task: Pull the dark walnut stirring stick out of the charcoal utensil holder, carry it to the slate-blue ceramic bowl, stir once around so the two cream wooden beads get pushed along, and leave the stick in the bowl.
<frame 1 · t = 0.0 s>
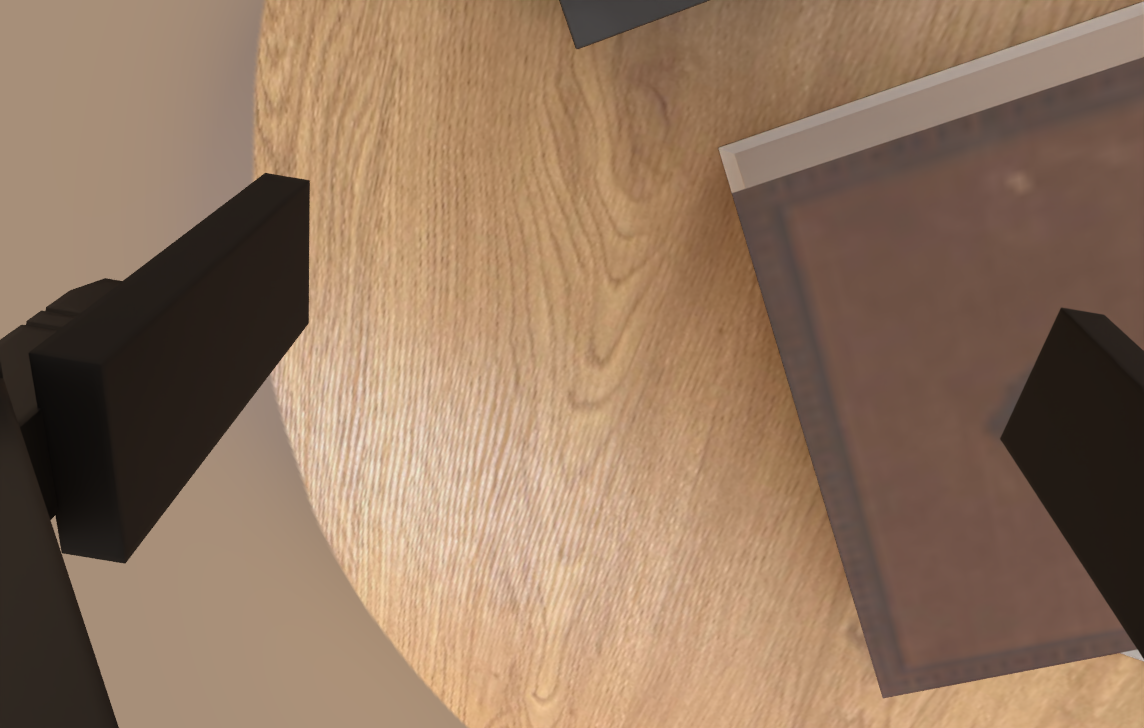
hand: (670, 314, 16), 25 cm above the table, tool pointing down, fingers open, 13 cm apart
book: (1048, 336, 42), on the table
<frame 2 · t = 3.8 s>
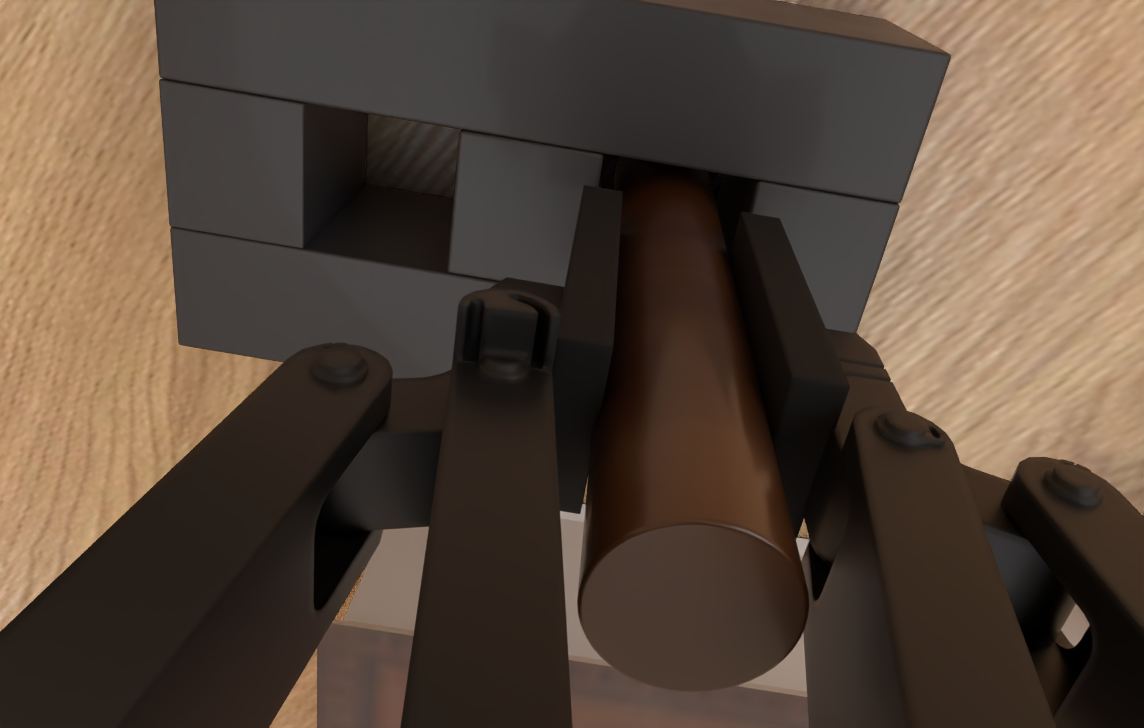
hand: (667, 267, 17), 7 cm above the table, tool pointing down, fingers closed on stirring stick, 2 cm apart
stirring stick: (660, 173, 23), resting in holder, touching gripper
holder: (544, 154, 23), on the table
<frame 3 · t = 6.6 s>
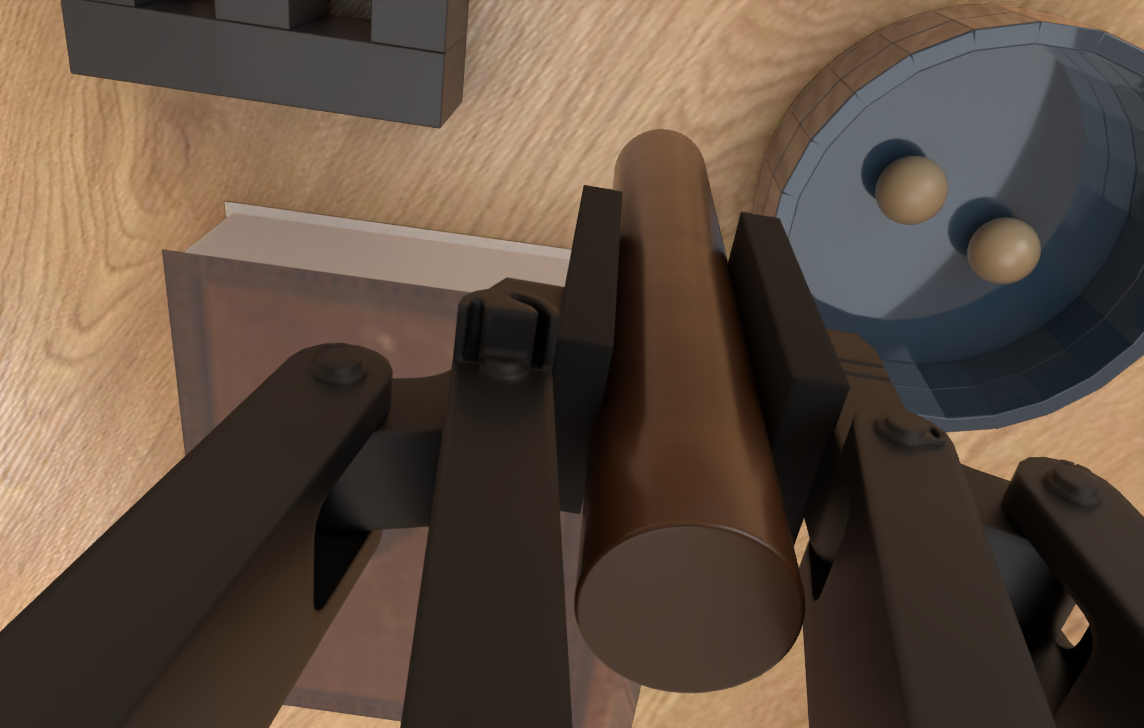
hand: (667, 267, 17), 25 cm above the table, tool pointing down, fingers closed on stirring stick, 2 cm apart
bead b: (1003, 251, 40), point 2 cm above the table, touching bowl
bead a: (911, 190, 39), point 2 cm above the table, touching bowl
stirring stick: (659, 174, 23), point 18 cm above the table, touching gripper
bowl: (942, 204, 41), on the table
book: (453, 462, 51), on the table
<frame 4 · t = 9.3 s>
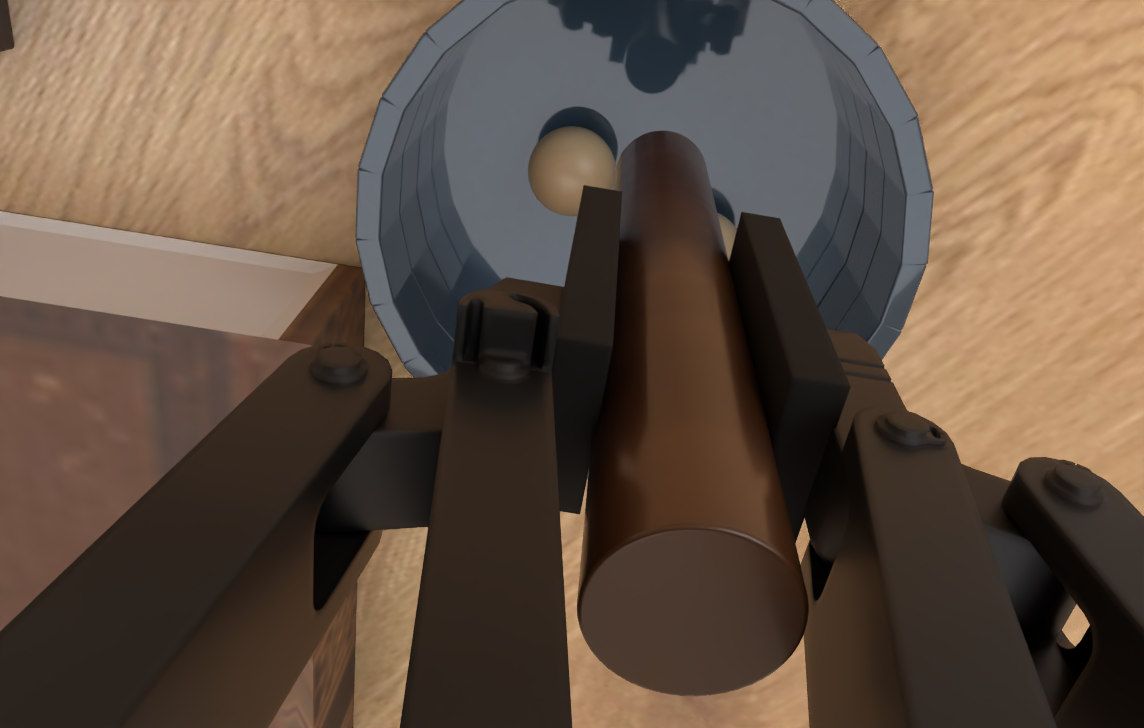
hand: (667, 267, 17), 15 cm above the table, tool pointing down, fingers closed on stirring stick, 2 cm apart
bead b: (699, 252, 31), point 2 cm above the table, touching bowl
bead a: (571, 171, 30), point 2 cm above the table, touching bowl
stirring stick: (660, 175, 23), point 9 cm above the table, touching gripper
bowl: (637, 192, 33), on the table
book: (103, 498, 42), on the table
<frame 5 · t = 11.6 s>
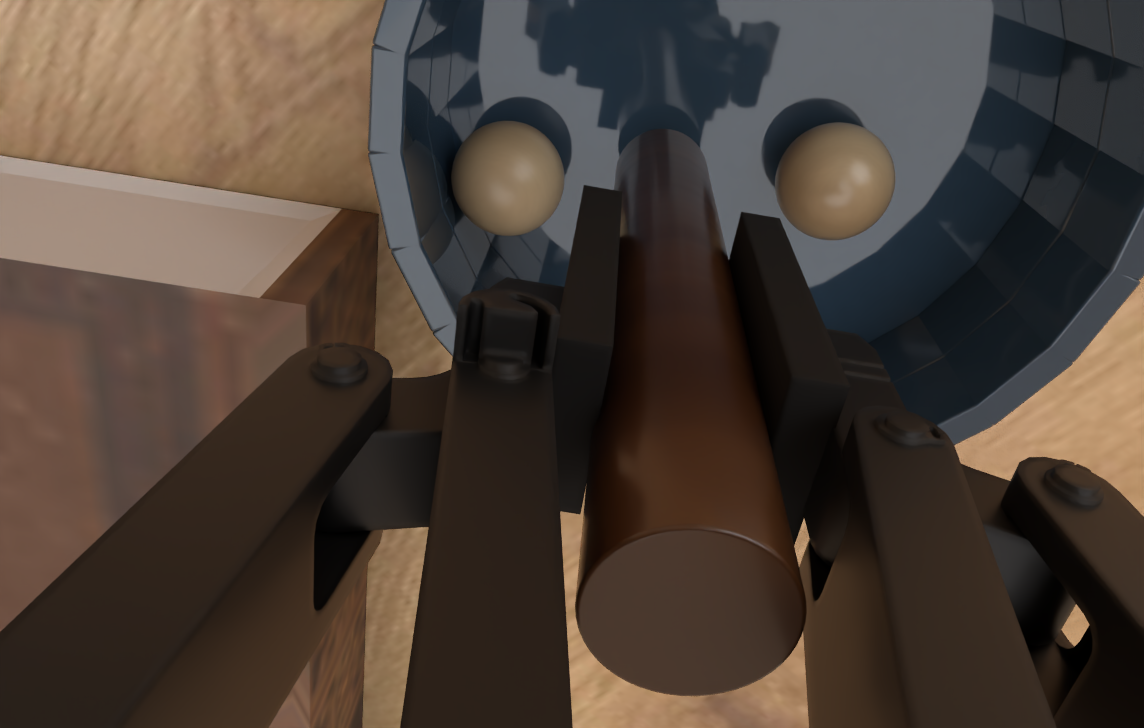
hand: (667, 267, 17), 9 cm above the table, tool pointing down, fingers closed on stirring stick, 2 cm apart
bead b: (834, 182, 23), point 2 cm above the table, touching bowl
bead a: (508, 179, 23), point 2 cm above the table, tilted 172°, touching bowl
stirring stick: (661, 174, 23), point 2 cm above the table, touching gripper
bowl: (742, 106, 24), on the table
book: (50, 512, 33), on the table
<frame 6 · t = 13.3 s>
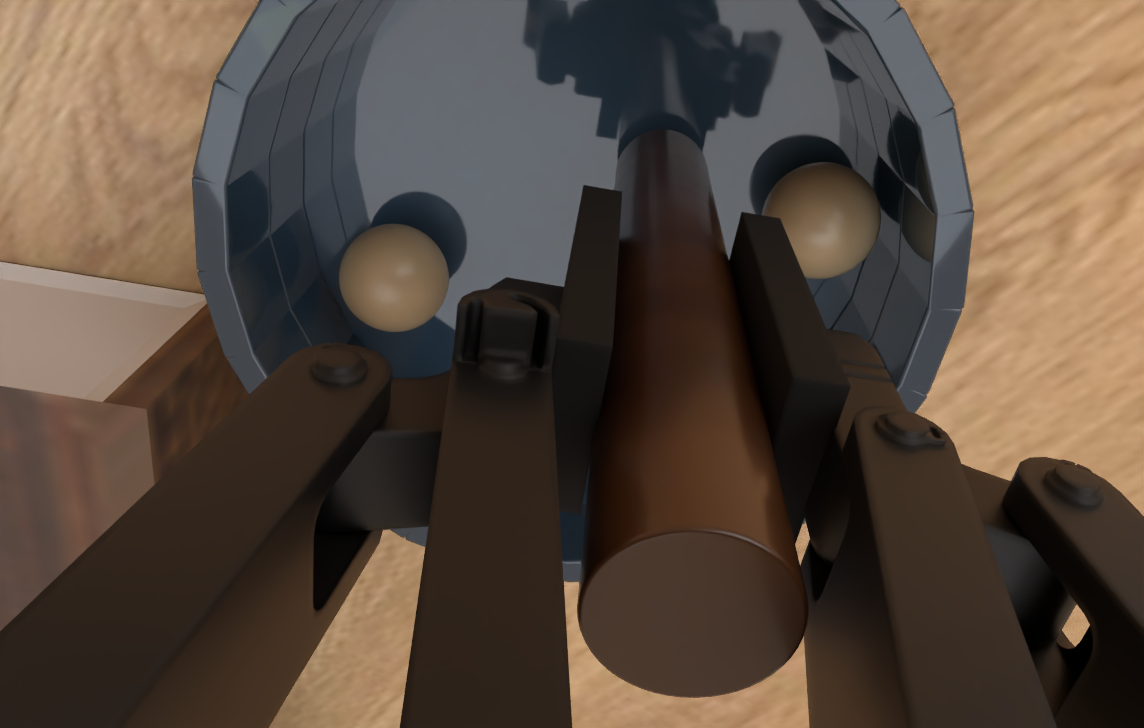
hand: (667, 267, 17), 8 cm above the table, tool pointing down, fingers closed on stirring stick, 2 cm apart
bead b: (820, 221, 23), point 2 cm above the table, tilted 167°, touching bowl
bead a: (394, 278, 25), point 2 cm above the table, tilted 144°, touching bowl
stirring stick: (661, 174, 23), point 2 cm above the table, touching gripper
bowl: (586, 207, 26), on the table
when the fingers open (7 cm above the table, at t = 15.2 s): stirring stick stays where it is, resting on bowl.
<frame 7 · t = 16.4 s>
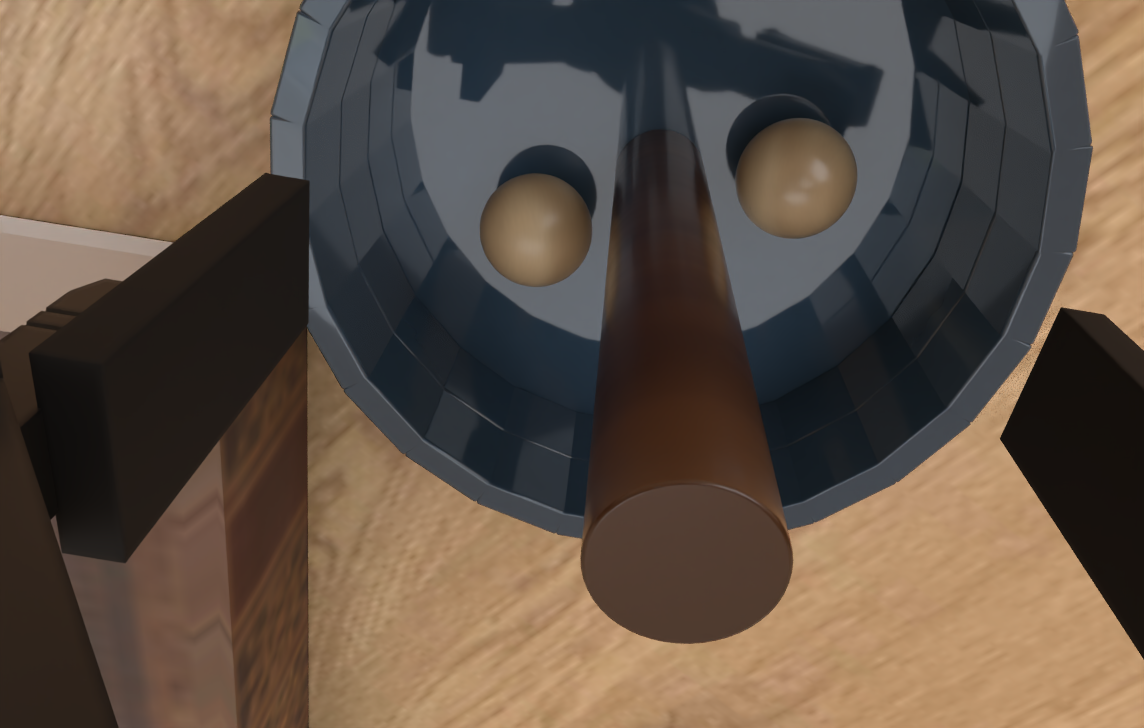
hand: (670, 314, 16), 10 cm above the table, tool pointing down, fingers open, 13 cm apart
bead b: (795, 179, 22), point 2 cm above the table, tilted 59°, touching bowl
bead a: (536, 230, 23), point 2 cm above the table, tilted 70°, touching bowl
stirring stick: (659, 173, 24), point 1 cm above the table, touching bowl
bowl: (658, 162, 25), on the table
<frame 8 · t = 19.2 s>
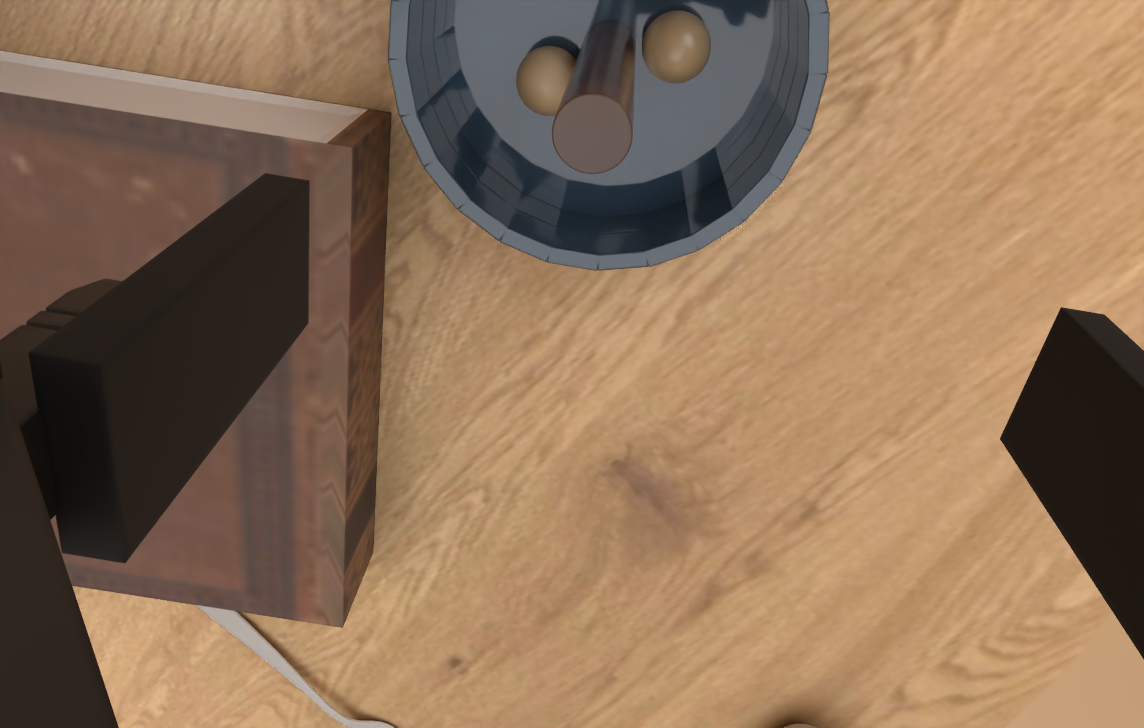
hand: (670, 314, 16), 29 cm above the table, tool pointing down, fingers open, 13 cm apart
fork: (319, 683, 63), on the table
bead b: (676, 47, 38), point 2 cm above the table, tilted 43°, touching bowl
bead a: (549, 81, 39), point 2 cm above the table, tilted 45°, touching bowl
stirring stick: (609, 48, 40), point 1 cm above the table, touching bowl
bowl: (609, 43, 41), on the table
book: (167, 326, 50), on the table
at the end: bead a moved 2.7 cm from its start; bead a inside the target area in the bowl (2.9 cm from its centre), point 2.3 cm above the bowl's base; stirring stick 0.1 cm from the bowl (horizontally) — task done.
